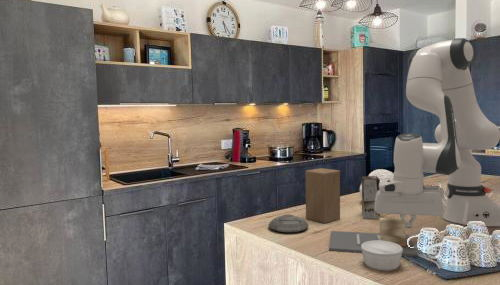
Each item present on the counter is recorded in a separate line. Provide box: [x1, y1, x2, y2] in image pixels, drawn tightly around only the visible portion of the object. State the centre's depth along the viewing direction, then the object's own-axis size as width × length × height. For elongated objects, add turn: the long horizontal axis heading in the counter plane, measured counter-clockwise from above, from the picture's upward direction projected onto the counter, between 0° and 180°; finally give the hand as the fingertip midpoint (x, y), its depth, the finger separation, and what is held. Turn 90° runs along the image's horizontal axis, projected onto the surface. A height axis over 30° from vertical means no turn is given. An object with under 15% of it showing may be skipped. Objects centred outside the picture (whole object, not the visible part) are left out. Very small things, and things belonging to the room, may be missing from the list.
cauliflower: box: [359, 168, 394, 199], centre depth 181 cm, size 20×18×16 cm
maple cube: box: [378, 217, 406, 246], centre depth 124 cm, size 7×7×7 cm
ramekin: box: [361, 240, 403, 272], centre depth 108 cm, size 11×11×5 cm
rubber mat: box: [328, 230, 419, 258], centre depth 126 cm, size 26×18×1 cm
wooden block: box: [305, 167, 341, 224], centre depth 155 cm, size 10×10×20 cm
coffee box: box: [361, 175, 380, 220], centre depth 158 cm, size 9×6×16 cm
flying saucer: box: [268, 214, 309, 233], centre depth 144 cm, size 15×15×6 cm
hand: (407, 227), depth 122 cm, fingers closed
